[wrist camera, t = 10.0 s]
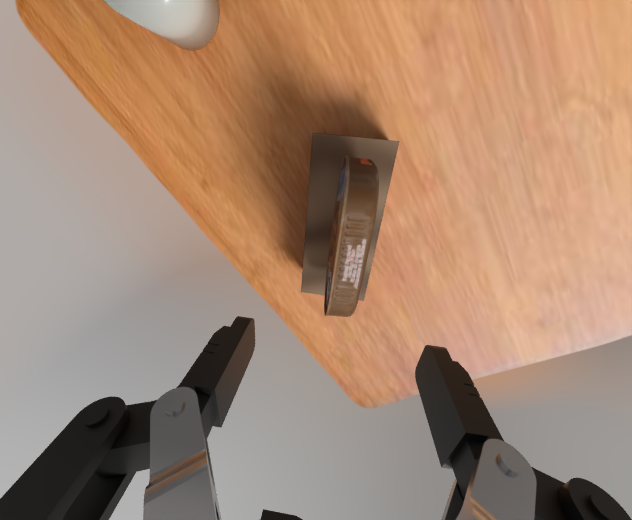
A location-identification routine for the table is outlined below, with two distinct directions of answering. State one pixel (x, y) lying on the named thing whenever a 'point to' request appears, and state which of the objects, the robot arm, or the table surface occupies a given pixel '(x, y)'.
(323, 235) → the brown rectangular block
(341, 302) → the tin
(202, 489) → the robot arm
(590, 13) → the table surface
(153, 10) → the white rounded capsule
